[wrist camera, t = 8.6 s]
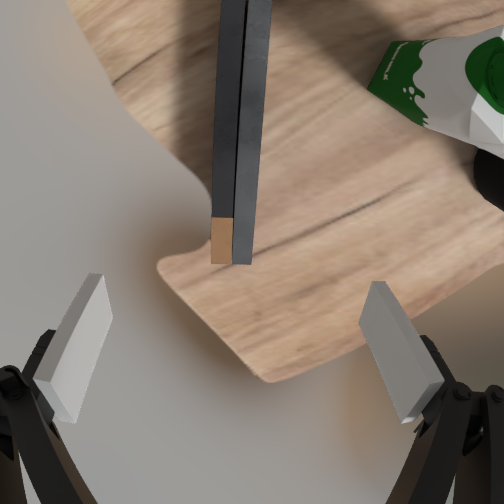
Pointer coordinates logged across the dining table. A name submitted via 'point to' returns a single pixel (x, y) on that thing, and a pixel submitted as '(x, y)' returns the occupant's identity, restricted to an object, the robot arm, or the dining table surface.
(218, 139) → the arm
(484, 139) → the milk carton
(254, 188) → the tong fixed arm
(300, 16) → the dining table surface
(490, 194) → the coffee jar
